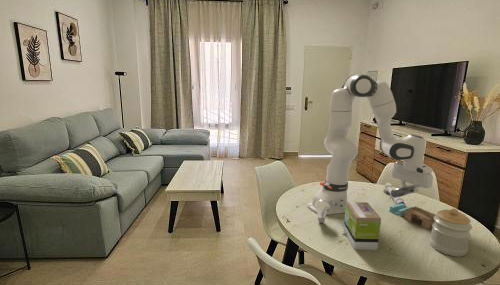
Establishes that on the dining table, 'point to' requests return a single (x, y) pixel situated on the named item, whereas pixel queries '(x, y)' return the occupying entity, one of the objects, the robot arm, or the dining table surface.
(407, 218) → the bearing block
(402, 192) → the axle
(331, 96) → the robot arm
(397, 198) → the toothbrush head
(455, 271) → the dining table surface
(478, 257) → the dining table surface
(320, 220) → the light bulb
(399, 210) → the u channel
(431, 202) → the dining table surface
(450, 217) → the jar
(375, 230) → the tea box
